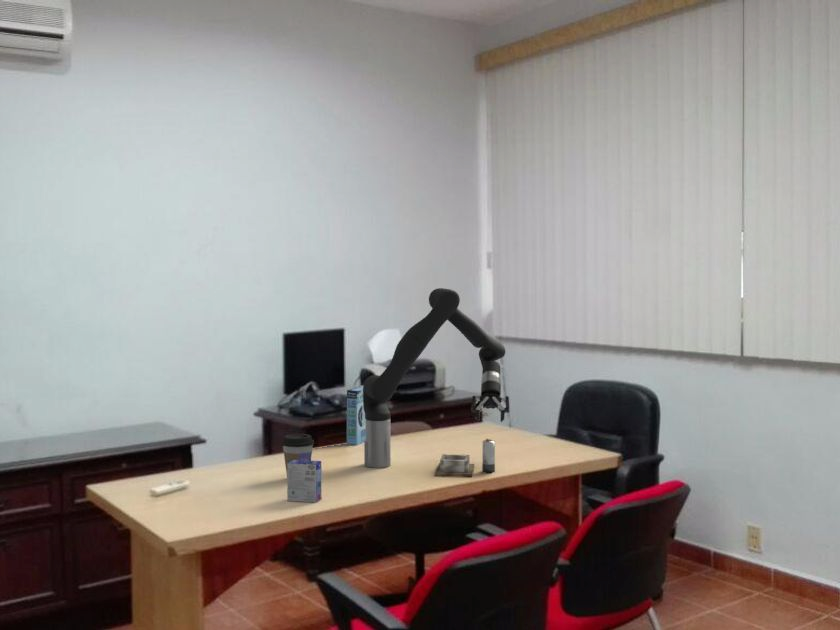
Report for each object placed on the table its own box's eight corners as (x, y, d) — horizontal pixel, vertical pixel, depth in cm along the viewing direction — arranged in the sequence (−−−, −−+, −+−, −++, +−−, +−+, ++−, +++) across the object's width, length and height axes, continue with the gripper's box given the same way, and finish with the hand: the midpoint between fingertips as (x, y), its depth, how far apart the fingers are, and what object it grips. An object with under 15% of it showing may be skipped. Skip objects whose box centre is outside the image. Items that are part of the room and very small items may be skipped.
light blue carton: (364, 436, 374) (364, 384, 373) (375, 436, 373) (374, 384, 372) (346, 444, 356) (345, 389, 355) (357, 445, 354) (357, 390, 353)
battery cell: (482, 472, 306) (482, 440, 306) (482, 470, 311) (482, 437, 310) (494, 473, 306) (494, 440, 305) (495, 470, 310) (495, 437, 310)
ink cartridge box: (322, 498, 272) (322, 453, 271) (316, 503, 266) (316, 456, 266) (292, 496, 274) (292, 451, 273) (286, 501, 268) (286, 455, 268)
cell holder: (434, 476, 301) (434, 461, 301) (439, 465, 317) (439, 452, 317) (471, 477, 300) (471, 462, 300) (474, 466, 316) (474, 453, 316)
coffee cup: (305, 484, 290) (304, 440, 289) (275, 481, 294) (274, 438, 293) (320, 476, 300) (320, 434, 300) (291, 474, 304) (291, 432, 304)
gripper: (472, 379, 328) (470, 414, 317) (509, 379, 326) (509, 414, 315) (472, 391, 333) (471, 426, 323) (509, 391, 332) (509, 426, 321)
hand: (490, 420), depth 319 cm, fingers open, 8 cm apart
